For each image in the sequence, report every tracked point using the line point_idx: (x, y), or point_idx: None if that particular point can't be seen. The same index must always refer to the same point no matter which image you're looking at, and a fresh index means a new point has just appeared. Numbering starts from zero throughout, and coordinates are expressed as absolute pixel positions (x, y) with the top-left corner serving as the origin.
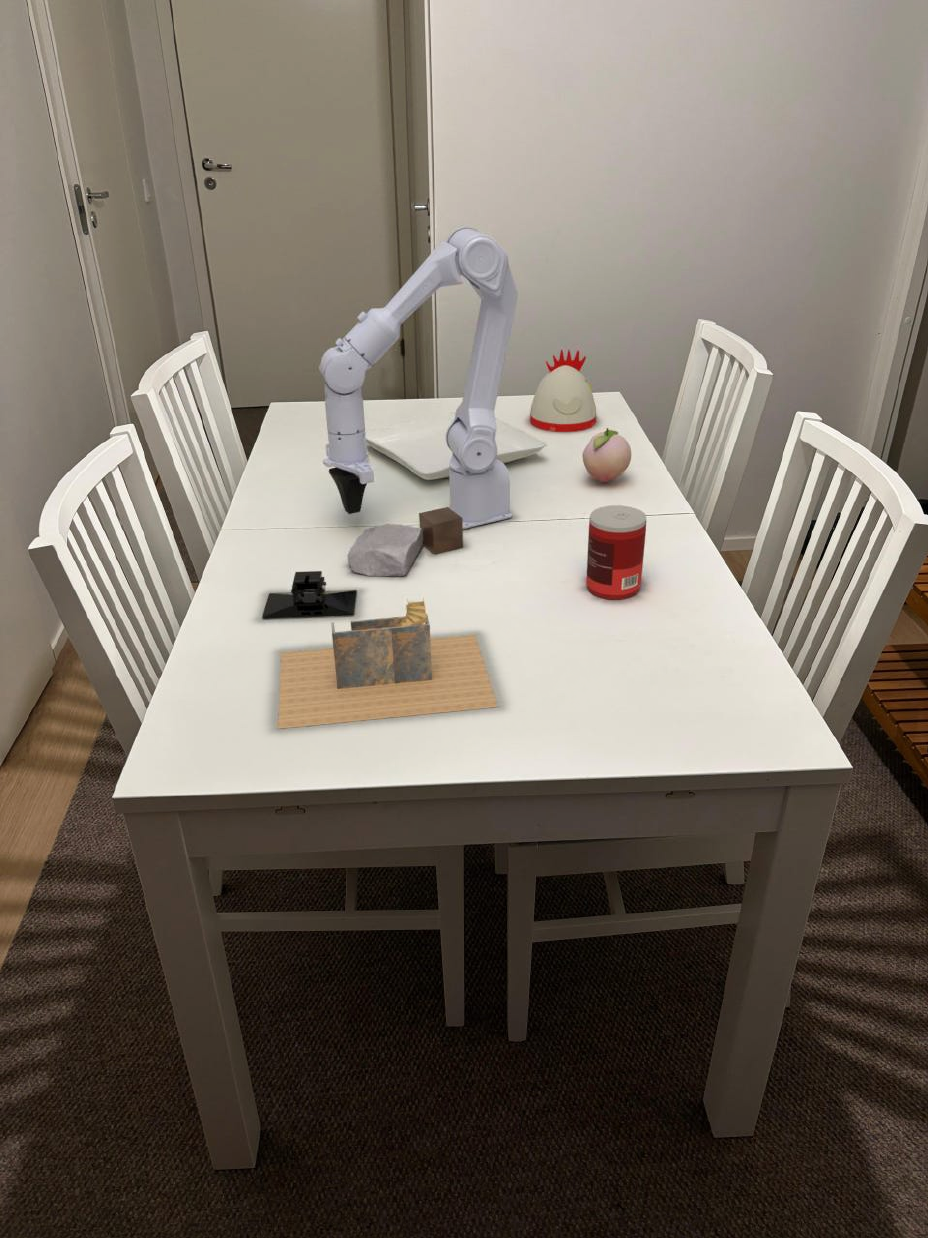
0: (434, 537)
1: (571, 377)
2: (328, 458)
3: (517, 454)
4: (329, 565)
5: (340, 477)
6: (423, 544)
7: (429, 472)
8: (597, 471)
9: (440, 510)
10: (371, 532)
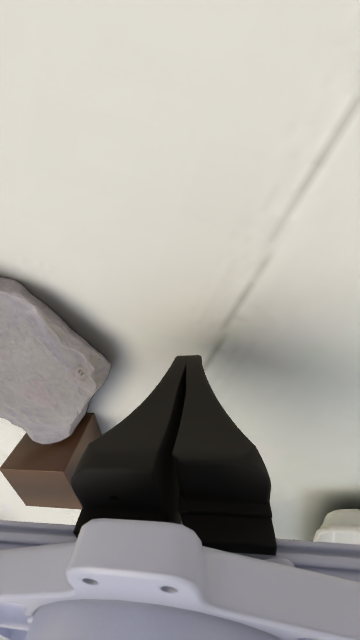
0: (20, 442)
1: None
2: (192, 605)
3: None
4: (17, 226)
5: (75, 474)
6: None
7: (318, 536)
8: None
9: (67, 497)
10: (71, 364)
